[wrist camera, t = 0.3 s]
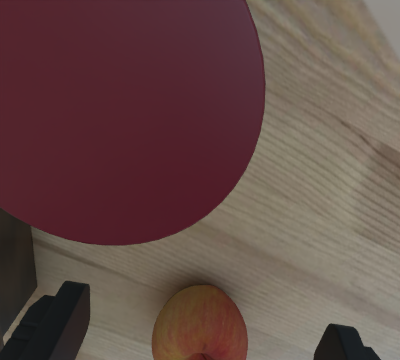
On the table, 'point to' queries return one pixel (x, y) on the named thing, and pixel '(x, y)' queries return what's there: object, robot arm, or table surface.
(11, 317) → the brown rectangular box
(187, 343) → the apple
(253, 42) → the dark red short cylinder
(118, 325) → the table surface
